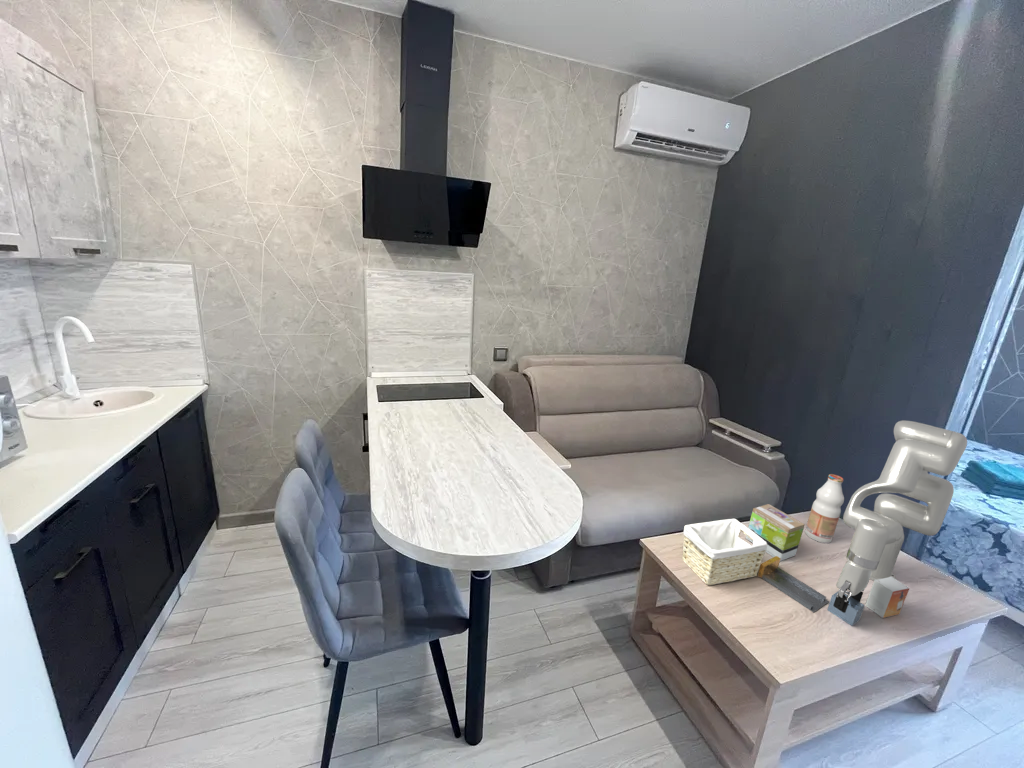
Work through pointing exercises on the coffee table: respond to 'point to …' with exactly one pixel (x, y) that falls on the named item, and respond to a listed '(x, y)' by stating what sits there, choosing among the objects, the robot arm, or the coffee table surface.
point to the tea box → (776, 531)
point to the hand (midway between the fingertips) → (846, 604)
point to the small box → (887, 597)
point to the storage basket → (722, 551)
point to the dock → (791, 585)
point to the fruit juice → (826, 510)
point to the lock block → (852, 610)
